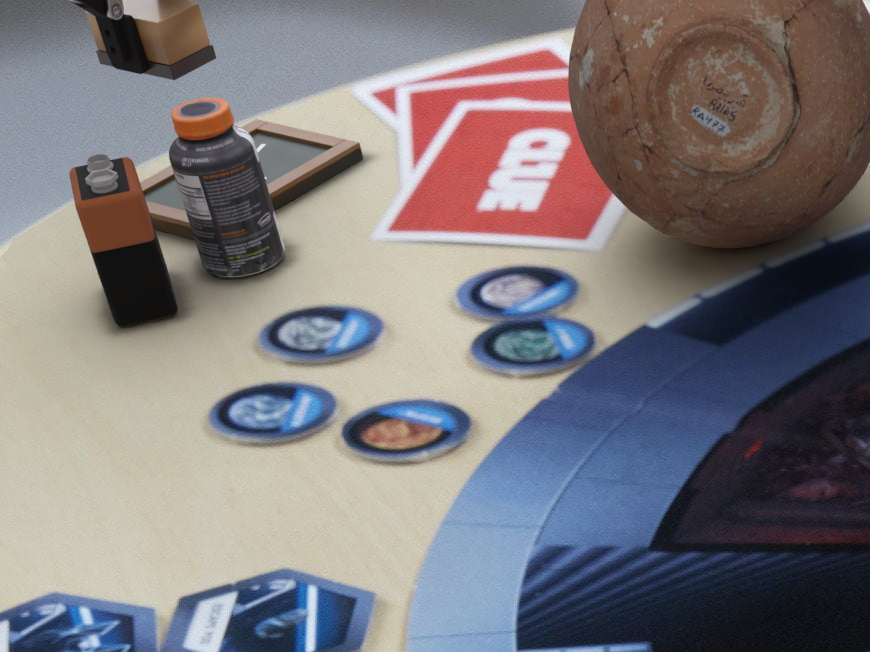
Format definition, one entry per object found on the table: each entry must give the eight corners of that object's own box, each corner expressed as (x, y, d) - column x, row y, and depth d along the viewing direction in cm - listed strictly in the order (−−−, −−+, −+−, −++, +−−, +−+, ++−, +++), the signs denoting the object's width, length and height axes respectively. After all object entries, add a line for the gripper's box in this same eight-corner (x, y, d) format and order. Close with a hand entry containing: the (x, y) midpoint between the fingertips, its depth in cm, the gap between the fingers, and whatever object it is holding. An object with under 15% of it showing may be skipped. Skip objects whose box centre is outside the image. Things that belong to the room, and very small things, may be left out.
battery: (116, 330, 166) (69, 192, 159) (108, 289, 171) (62, 153, 164) (180, 317, 167) (136, 179, 160) (170, 276, 171) (127, 141, 165)
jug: (500, 175, 156) (549, 115, 183) (795, 334, 162) (802, 253, 188) (642, -147, 148) (672, -161, 174) (948, 33, 154) (932, -7, 180)
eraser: (174, 80, 169) (157, 24, 166) (99, 64, 172) (81, 8, 170) (216, 58, 172) (200, 2, 169) (142, 42, 175) (125, -13, 172)
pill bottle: (292, 239, 175) (249, 85, 167) (279, 276, 170) (235, 120, 163) (211, 246, 175) (164, 93, 167) (196, 283, 170) (148, 128, 163)
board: (215, 244, 175) (210, 228, 174) (110, 217, 179) (104, 201, 179) (363, 158, 185) (359, 142, 184) (260, 134, 189) (256, 118, 188)
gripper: (126, -260, 166) (203, 6, 178) (-64, -183, 156) (32, 93, 168) (203, -249, 163) (276, 21, 175) (14, -170, 153) (106, 110, 165)
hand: (155, 54), depth 172 cm, fingers closed on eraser, 4 cm apart
